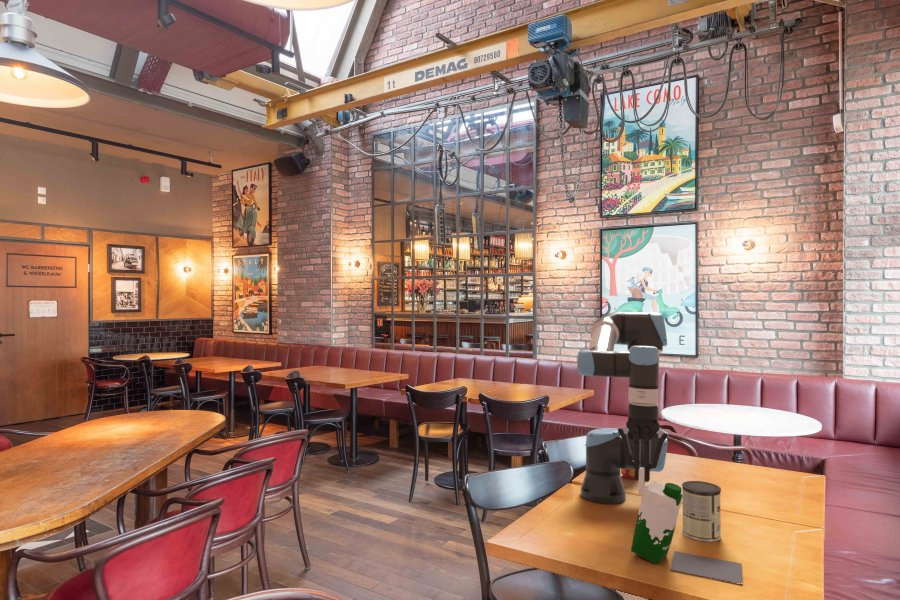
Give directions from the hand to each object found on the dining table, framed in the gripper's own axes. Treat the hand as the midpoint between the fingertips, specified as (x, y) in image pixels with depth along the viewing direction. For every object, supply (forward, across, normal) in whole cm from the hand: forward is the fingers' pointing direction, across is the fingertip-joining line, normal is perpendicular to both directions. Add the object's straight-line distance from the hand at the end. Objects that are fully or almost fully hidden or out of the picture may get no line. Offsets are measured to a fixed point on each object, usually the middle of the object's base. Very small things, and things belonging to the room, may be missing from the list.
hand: (642, 493), depth 147 cm
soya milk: (+16, +2, +2) cm, 16 cm away
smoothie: (+15, -14, +71) cm, 74 cm away
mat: (+17, +16, +2) cm, 23 cm away
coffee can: (+16, +13, +24) cm, 32 cm away
